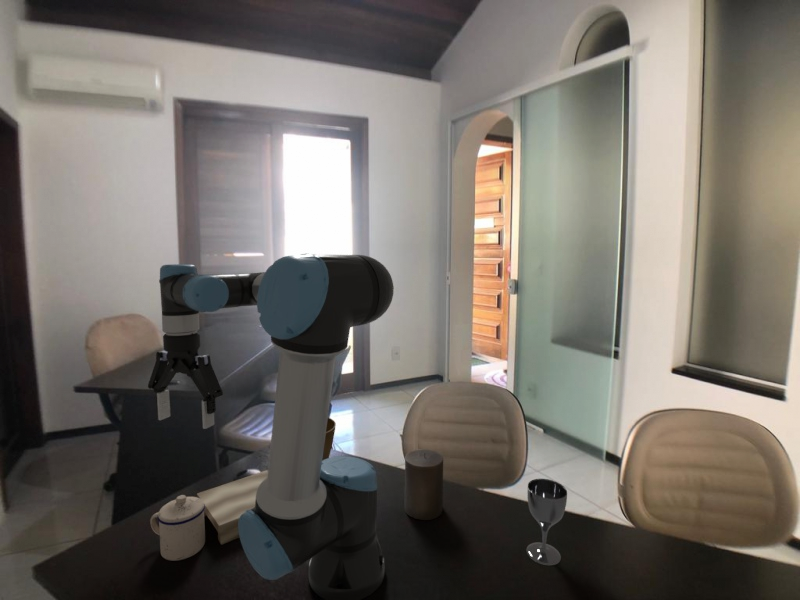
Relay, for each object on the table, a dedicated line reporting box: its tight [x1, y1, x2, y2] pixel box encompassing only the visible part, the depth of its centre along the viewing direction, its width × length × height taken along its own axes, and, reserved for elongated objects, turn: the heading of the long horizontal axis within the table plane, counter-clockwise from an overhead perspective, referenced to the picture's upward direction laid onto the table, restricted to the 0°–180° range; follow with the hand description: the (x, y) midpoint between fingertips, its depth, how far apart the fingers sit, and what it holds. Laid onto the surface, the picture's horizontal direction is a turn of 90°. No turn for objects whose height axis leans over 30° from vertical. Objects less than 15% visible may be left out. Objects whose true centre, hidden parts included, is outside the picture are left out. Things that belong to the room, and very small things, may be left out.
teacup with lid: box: [149, 494, 206, 562], centre depth 93 cm, size 12×9×12 cm
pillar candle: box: [404, 448, 444, 521], centre depth 108 cm, size 10×10×15 cm
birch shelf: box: [196, 469, 268, 545], centre depth 105 cm, size 16×18×5 cm
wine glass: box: [525, 478, 568, 567], centre depth 92 cm, size 8×8×15 cm
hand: (186, 422), depth 100 cm, fingers open, 13 cm apart
